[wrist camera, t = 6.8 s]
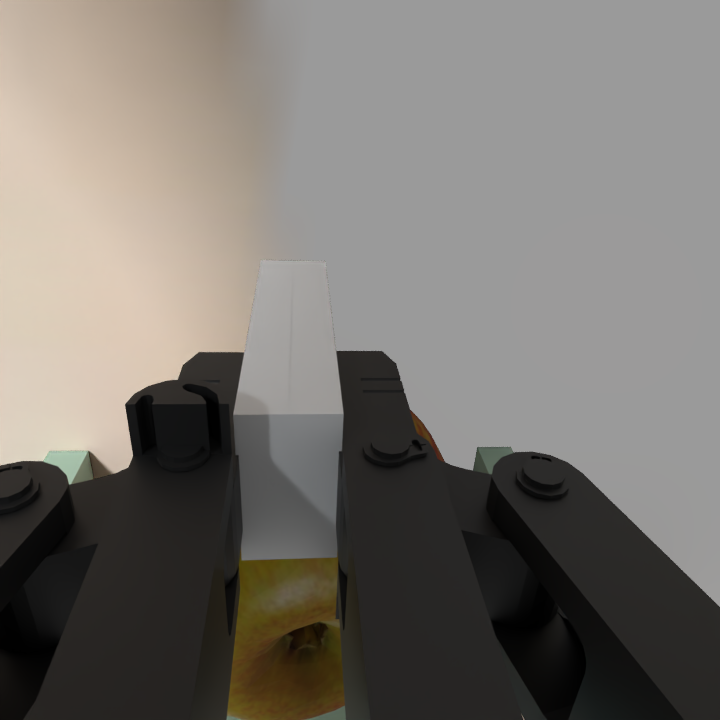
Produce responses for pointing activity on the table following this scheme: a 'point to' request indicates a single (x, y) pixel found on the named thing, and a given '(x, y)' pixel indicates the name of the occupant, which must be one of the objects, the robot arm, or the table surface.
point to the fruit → (289, 637)
